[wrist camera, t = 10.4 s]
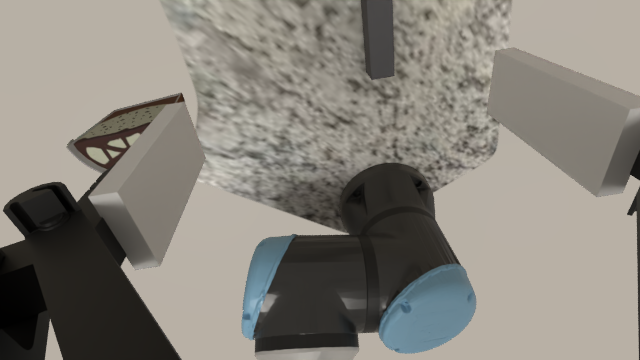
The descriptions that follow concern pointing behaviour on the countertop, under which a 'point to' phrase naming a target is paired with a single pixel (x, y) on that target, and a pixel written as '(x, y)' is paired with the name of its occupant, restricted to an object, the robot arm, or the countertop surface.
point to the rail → (378, 37)
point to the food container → (117, 133)
